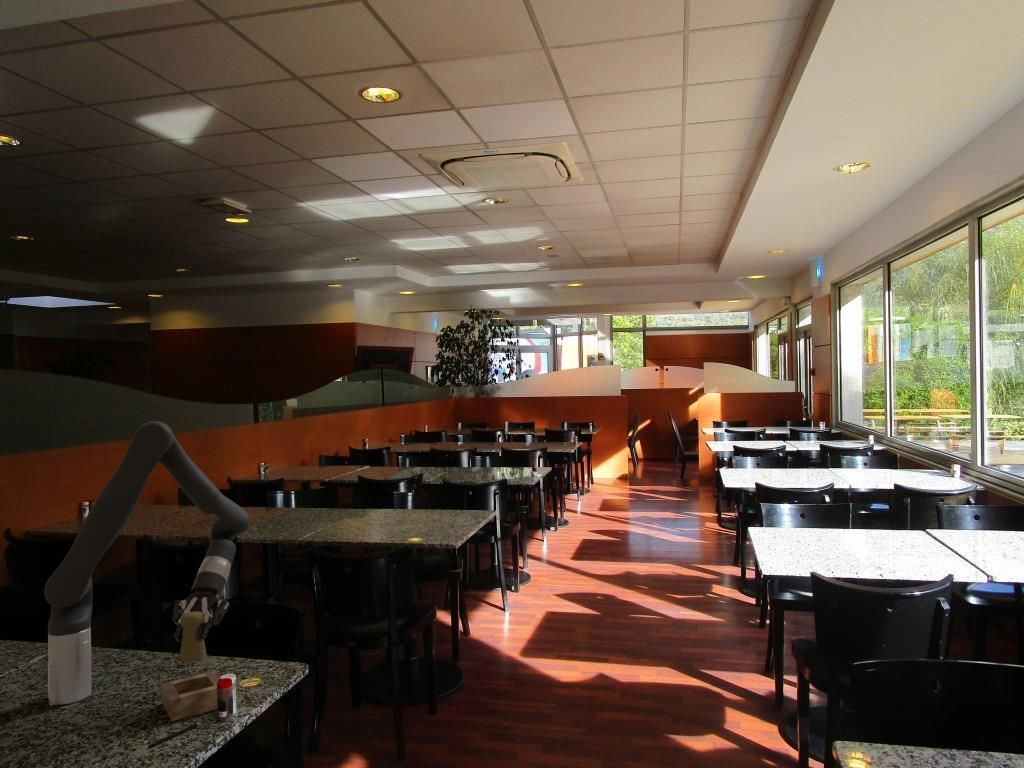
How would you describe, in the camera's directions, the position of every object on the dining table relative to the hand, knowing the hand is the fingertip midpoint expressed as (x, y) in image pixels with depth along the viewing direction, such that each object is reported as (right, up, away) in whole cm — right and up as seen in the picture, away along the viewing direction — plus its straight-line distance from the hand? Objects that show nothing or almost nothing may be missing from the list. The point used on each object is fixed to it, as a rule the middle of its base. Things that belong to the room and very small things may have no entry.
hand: (188, 639), depth 170 cm
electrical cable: (+4, -17, -14) cm, 22 cm away
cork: (0, -5, +2) cm, 6 cm away
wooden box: (+1, -17, +1) cm, 17 cm away
